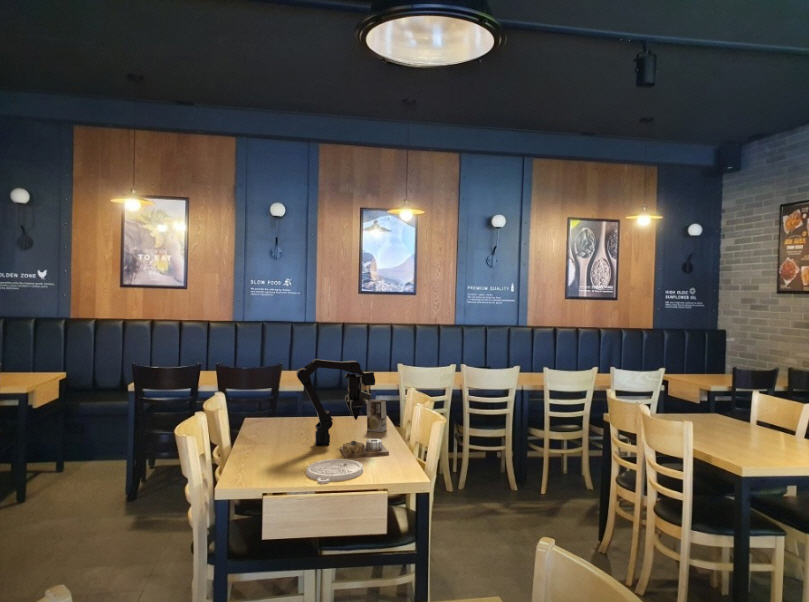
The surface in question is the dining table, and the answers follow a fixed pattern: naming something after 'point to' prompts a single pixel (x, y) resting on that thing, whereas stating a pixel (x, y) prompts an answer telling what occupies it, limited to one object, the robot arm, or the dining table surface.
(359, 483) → the dining table surface
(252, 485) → the dining table surface
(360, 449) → the gear board
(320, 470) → the medallion
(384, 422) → the coffee box
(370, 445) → the steel gear
